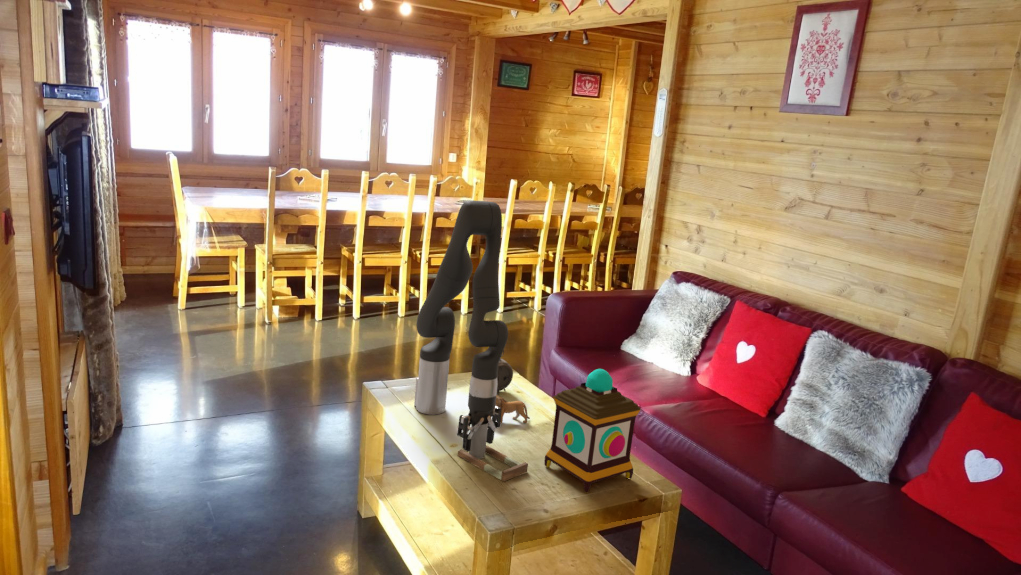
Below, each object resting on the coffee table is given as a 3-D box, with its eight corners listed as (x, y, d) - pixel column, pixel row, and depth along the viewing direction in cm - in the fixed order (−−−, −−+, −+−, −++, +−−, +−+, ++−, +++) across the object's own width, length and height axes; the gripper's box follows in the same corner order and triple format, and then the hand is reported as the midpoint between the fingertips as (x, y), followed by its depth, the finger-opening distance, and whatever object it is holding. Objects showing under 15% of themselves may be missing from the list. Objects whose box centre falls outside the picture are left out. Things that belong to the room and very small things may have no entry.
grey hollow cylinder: (482, 460, 201) (486, 425, 199) (466, 457, 202) (470, 422, 200) (486, 453, 206) (489, 419, 204) (470, 450, 207) (474, 416, 204)
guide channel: (457, 455, 203) (458, 447, 202) (480, 447, 209) (481, 439, 209) (503, 481, 191) (504, 472, 190) (527, 472, 197) (528, 463, 197)
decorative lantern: (536, 465, 202) (548, 361, 195) (588, 451, 214) (601, 353, 207) (586, 498, 187) (600, 387, 180) (639, 481, 199) (655, 376, 192)
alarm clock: (505, 388, 257) (510, 344, 253) (513, 394, 252) (518, 349, 249) (477, 391, 251) (482, 346, 248) (485, 397, 247) (489, 351, 243)
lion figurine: (489, 426, 224) (491, 399, 222) (483, 419, 229) (485, 392, 227) (532, 423, 230) (535, 396, 228) (525, 416, 235) (528, 389, 233)
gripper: (492, 382, 207) (486, 435, 211) (454, 392, 197) (449, 448, 201) (511, 390, 202) (505, 445, 206) (473, 401, 192) (468, 458, 196)
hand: (477, 446), depth 203 cm, fingers open, 8 cm apart
